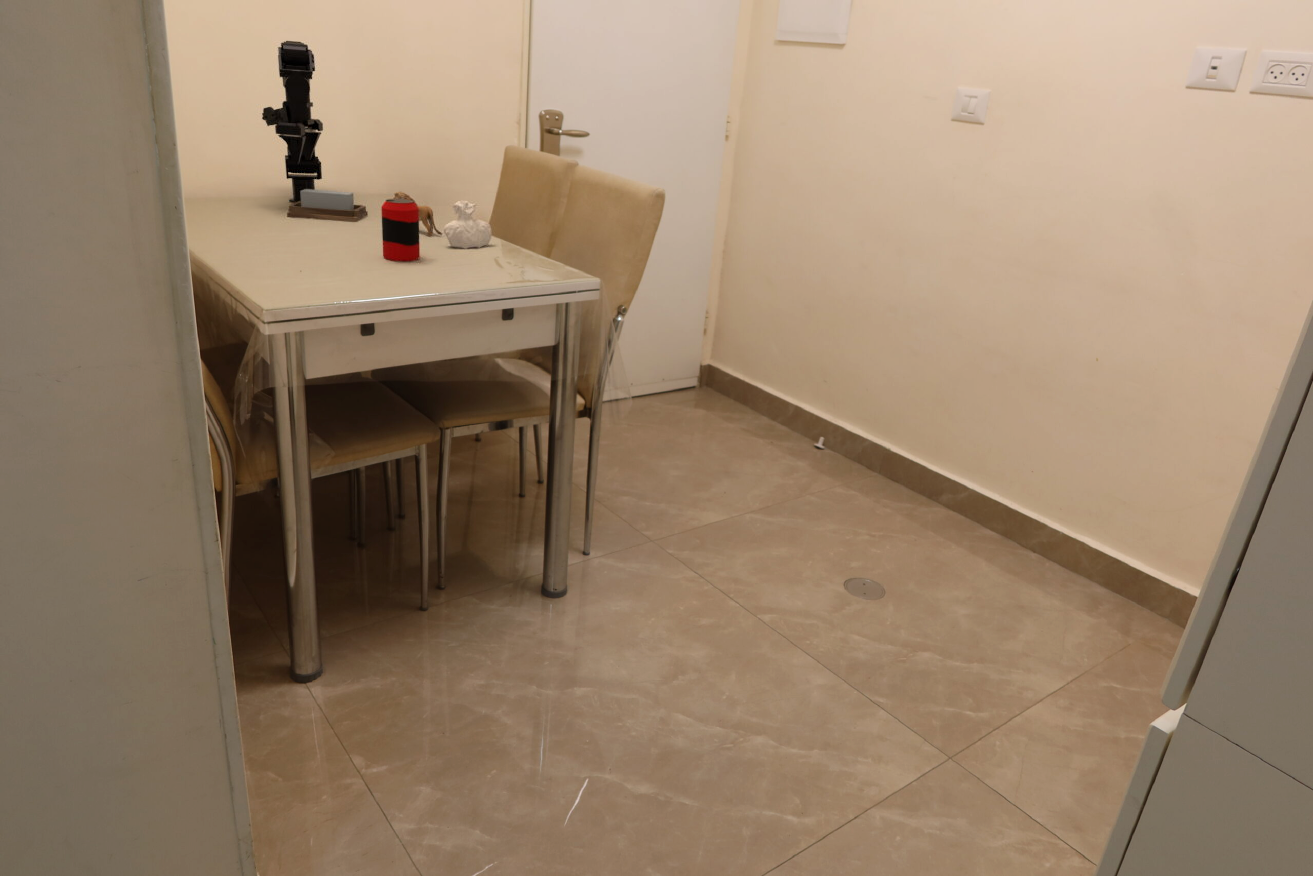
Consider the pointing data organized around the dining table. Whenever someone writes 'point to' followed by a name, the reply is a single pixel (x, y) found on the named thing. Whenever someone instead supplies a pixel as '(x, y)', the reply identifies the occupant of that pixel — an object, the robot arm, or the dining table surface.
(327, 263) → the dining table surface
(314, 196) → the grey block
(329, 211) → the brown wooden tray
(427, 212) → the lion figurine
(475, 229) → the white tied bag
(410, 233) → the soda can
